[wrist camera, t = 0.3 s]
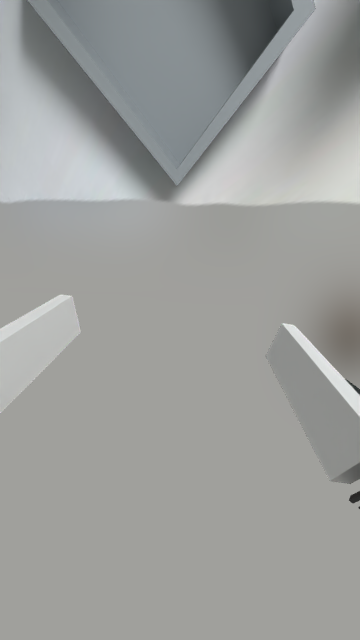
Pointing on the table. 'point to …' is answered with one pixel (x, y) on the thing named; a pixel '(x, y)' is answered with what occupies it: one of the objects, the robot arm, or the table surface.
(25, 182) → the table surface
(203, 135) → the walled tray
